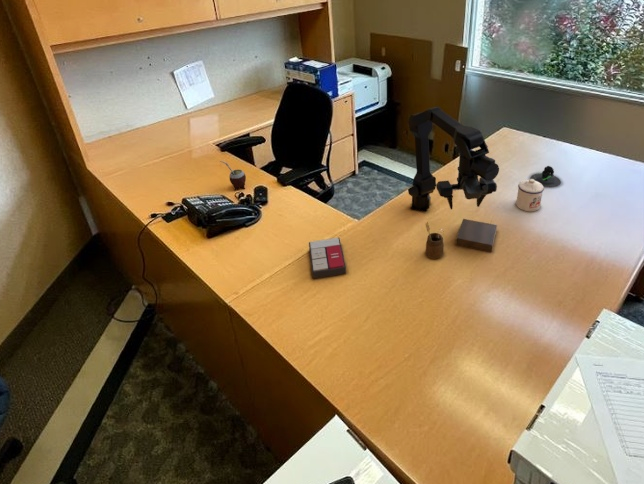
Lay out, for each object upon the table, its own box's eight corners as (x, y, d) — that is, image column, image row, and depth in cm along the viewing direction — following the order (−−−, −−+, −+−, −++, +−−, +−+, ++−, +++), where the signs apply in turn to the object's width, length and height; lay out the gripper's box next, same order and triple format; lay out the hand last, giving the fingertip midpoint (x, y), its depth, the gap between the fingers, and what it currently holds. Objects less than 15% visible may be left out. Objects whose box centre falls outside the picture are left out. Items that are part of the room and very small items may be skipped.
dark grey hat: (565, 186, 172) (571, 161, 166) (536, 188, 173) (541, 162, 167) (553, 172, 182) (558, 148, 177) (526, 173, 183) (530, 149, 177)
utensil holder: (439, 261, 138) (441, 232, 132) (422, 255, 141) (422, 227, 135) (446, 251, 142) (447, 223, 136) (428, 245, 145) (429, 217, 139)
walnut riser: (456, 244, 145) (456, 237, 143) (462, 225, 154) (463, 218, 153) (491, 252, 140) (492, 245, 139) (496, 231, 150) (497, 224, 148)
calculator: (311, 271, 132) (308, 240, 145) (313, 280, 135) (309, 249, 147) (345, 265, 134) (339, 235, 146) (346, 275, 136) (340, 244, 148)
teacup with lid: (531, 215, 157) (536, 188, 151) (510, 205, 163) (514, 179, 157) (549, 203, 163) (554, 177, 157) (528, 193, 169) (532, 169, 163)
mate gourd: (250, 185, 189) (244, 156, 182) (238, 193, 184) (231, 164, 176) (239, 181, 193) (232, 153, 186) (226, 189, 187) (219, 160, 180)
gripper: (446, 182, 126) (443, 224, 134) (506, 177, 127) (500, 218, 134) (436, 165, 136) (435, 205, 143) (492, 160, 136) (488, 200, 144)
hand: (464, 207), depth 141 cm, fingers open, 9 cm apart
